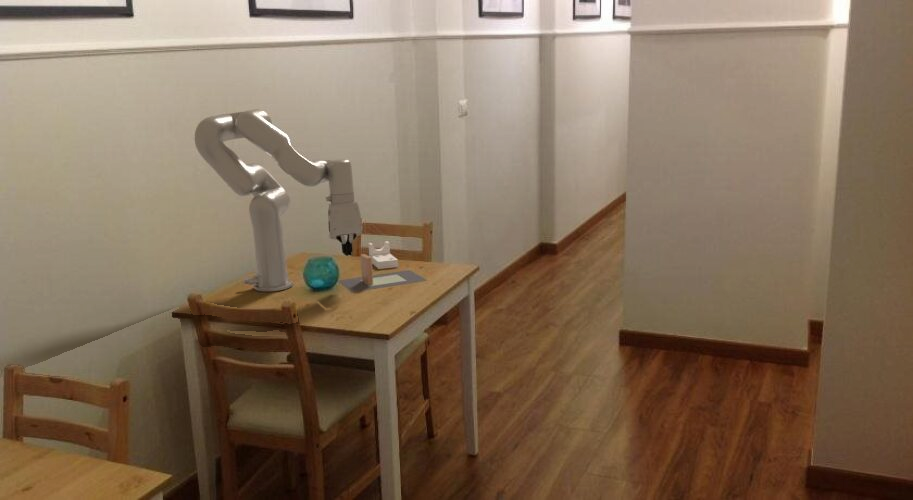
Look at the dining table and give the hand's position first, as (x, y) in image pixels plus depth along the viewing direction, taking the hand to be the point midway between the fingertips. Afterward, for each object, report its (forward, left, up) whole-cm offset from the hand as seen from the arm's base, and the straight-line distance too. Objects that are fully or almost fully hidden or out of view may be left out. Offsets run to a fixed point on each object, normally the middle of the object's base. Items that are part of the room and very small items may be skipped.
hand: (347, 254), depth 267 cm
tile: (+6, 0, -10) cm, 12 cm away
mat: (+11, 0, -11) cm, 16 cm away
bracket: (+20, +21, -12) cm, 31 cm away
